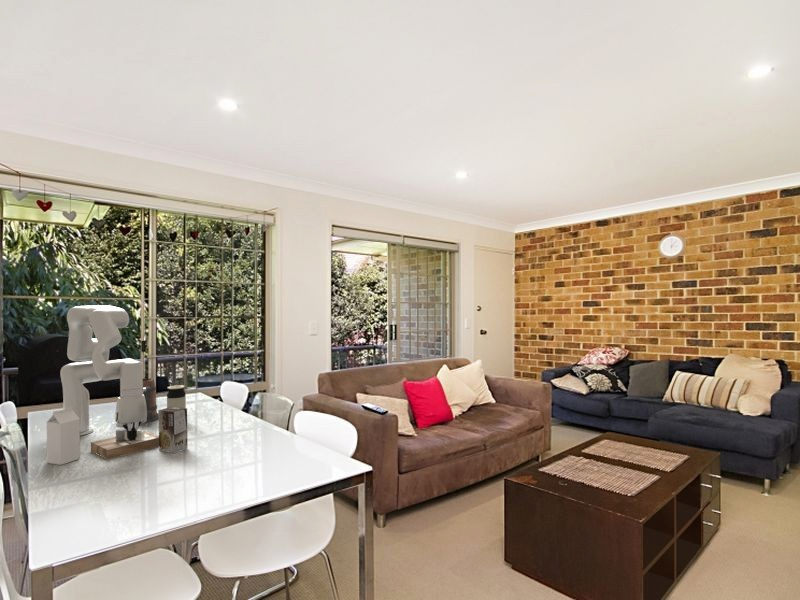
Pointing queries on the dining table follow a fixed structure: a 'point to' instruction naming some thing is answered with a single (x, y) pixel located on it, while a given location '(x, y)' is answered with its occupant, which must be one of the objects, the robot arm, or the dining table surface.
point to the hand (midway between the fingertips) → (131, 439)
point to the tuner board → (124, 446)
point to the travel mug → (176, 396)
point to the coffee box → (173, 429)
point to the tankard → (150, 400)
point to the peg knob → (122, 435)
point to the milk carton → (63, 437)
